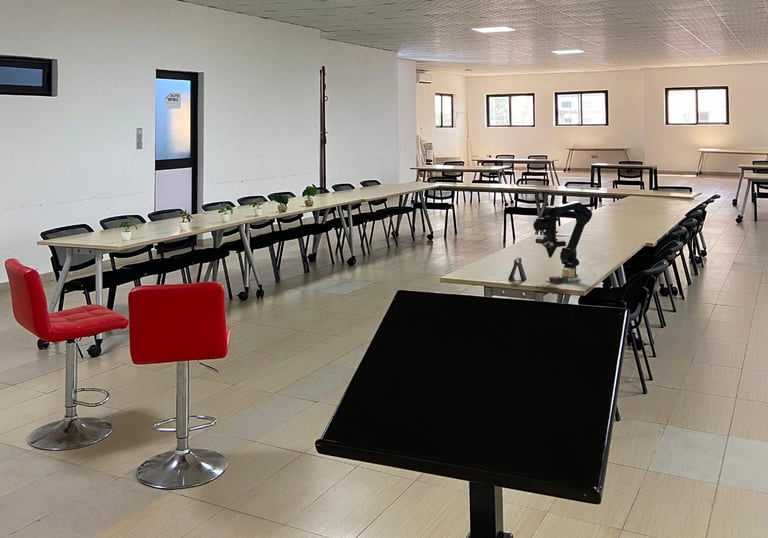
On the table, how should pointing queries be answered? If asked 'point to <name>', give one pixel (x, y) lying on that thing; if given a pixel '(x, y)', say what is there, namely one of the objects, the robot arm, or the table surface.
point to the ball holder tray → (562, 280)
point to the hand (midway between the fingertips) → (550, 257)
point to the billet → (568, 272)
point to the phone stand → (521, 271)
